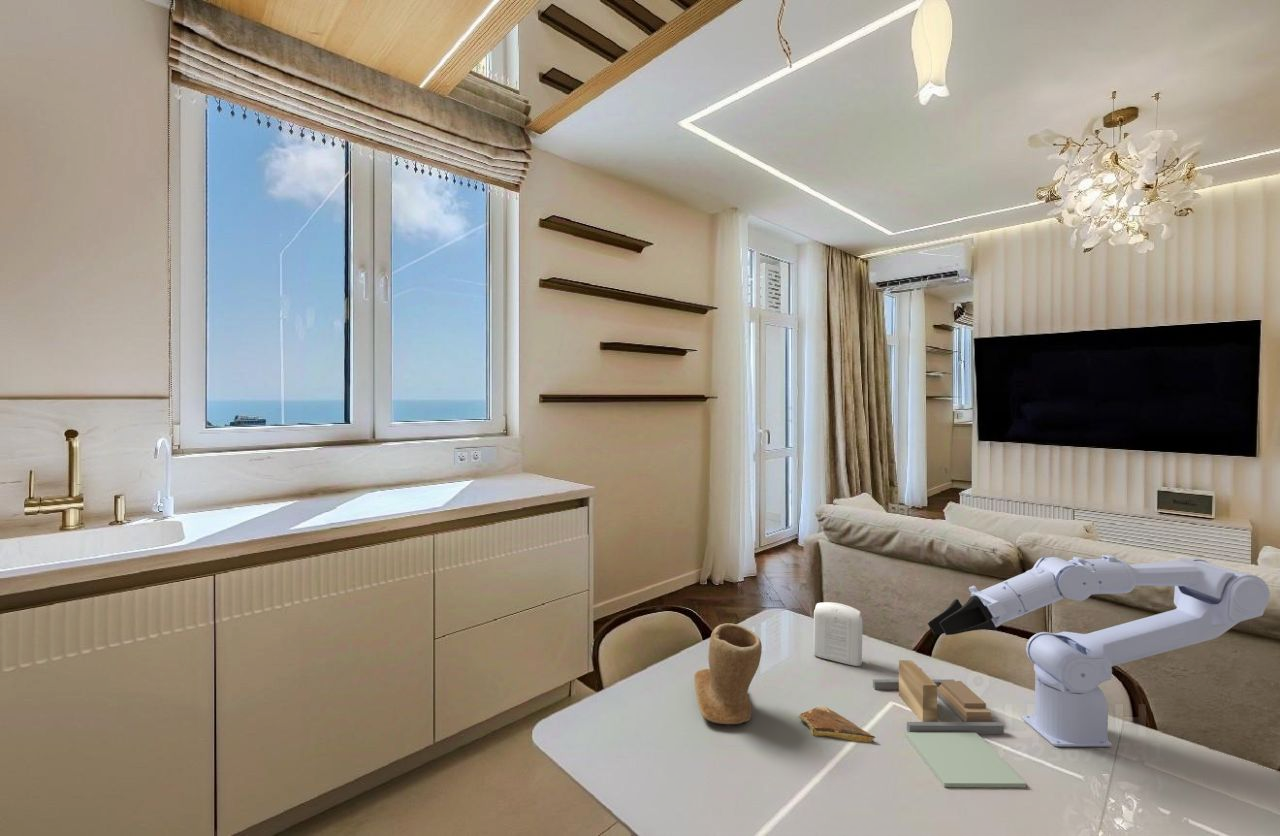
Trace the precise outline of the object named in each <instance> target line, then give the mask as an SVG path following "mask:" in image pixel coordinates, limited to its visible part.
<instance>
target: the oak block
mask: <svg viewBox="0 0 1280 836" xmlns="http://www.w3.org/2000/svg"><path fill="white" fill-rule="evenodd" d="M898 679H899V690H898V697H900V698H901V700H902V701H903V703H905V705H906V706H907V707H908V708H909V709H910V710H911V712H912V713H913V714H914V716H916V718H917V719H918V720H919V722H938V696H937V685H936V684H935V683H934V682H933V681H932V680H931V679H932V678H931V677H930V676H928V674H927V673H926V672H925V671H924V670H922V669H921V667H920V666H918V664H916V663H915V662H914V661H913V659H908V660H907V659H905V660H903V659H902V660H900V659H899V660H898Z"/></svg>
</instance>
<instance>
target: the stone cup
mask: <svg viewBox="0 0 1280 836" xmlns="http://www.w3.org/2000/svg"><path fill="white" fill-rule="evenodd" d="M762 649H763V647H762V641H761V639H760V638H759V636H758V635H757V633H755V632H753V630H751V629H750V628H747V627H745V626H743V625H740V624H735V623H726V622H725V623H721V624H719V625H716V627H714V629H712V632H711V634H710V639H709V647H708V656H707V657H708V666H709V667H708V668H704V669H700V670H698V671H696V672H695V673H694V678H693V679H694V688H695V689H694V690H695V697H696V702H697V706H698V709H699V712H700V714H701V716H702V717H703V718H704V720H707V721H708V722H711V723H715V724H720V725H739V724H742V723H746V722H748V721H750V719H751V717H752V703H751V699H750V696H749V694H748V691H749V688H750V685H751V683H752V681H753V679H754V677H755V675H756V673H757V671H758V669H759V667H760V662H761V657H762Z"/></svg>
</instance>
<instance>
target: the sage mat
mask: <svg viewBox="0 0 1280 836" xmlns="http://www.w3.org/2000/svg"><path fill="white" fill-rule="evenodd" d="M904 734H905V738H906V739H907V740H908V741H909V743H910V744H911V745H912V747H913V748H914V749H915V751H916V752H917V754H918V755H919V756H920V758H921V759H922V760H923V761H924V763H925V764H926V765H927V767H929V769H930V770H931V771H932V772H931V773H933V774H934V775H935V777H936V778H937V780H938V781H939V782H940V784H941V785H942V786H943V788H1027V783H1026V782H1025V780H1024V779H1022V778H1021V776H1020V775H1018V773H1016V772H1015V770H1014V769H1013V768H1011V766H1010V765H1008V763H1006V761H1005V760H1004V759H1003V758H1002V757H1001V756H1000V755H999V754H998V753H997V752H996V751H995V750H994V749H993V748H992V747H991V746H990V745H989V744H988V743H987V742H986V740H984V739H983V738H982V737H981V736H980V734H977V733H947V732H908V731H907V732H905V733H904Z"/></svg>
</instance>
